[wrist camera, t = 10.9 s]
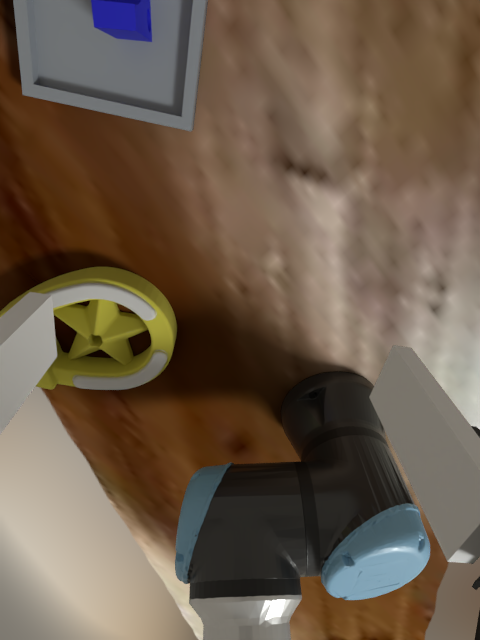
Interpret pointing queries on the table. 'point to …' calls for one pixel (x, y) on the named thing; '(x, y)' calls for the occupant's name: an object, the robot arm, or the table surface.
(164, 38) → the tray
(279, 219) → the table surface
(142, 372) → the yellow rounded low piece
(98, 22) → the blue long stepped piece
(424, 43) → the table surface
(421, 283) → the table surface
